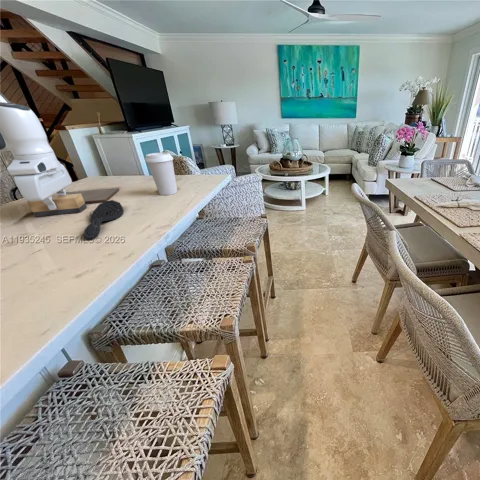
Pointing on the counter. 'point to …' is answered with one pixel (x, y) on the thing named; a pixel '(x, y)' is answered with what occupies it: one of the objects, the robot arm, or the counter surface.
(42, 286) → the counter surface
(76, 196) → the scrub brush
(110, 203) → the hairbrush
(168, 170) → the coffee cup
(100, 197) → the walnut board
